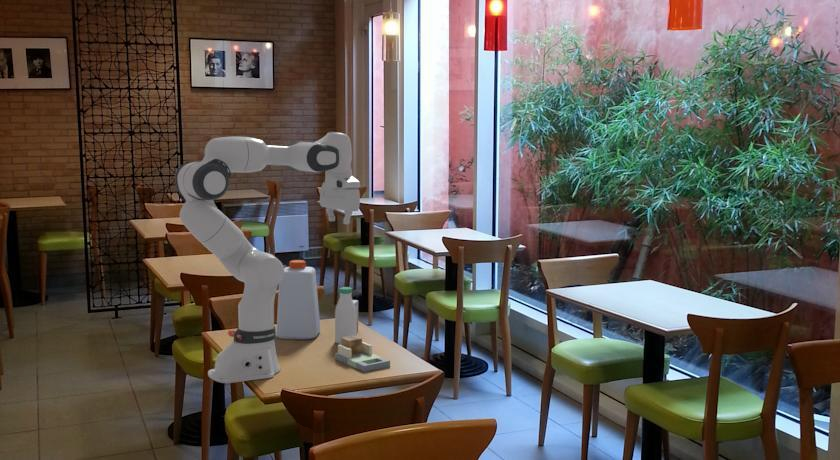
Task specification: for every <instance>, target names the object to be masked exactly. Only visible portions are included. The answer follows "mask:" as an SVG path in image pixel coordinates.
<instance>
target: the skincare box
mask: <svg viewBox="0 0 840 460" xmlns="http://www.w3.org/2000/svg"><path fill="white" fill-rule="evenodd" d="M352 300H353V303H354V305H355V308H356V320H357V332H359V300H357V299H352Z"/></svg>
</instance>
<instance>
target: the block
mask: <svg viewBox="0 0 840 460" xmlns="http://www.w3.org/2000/svg"><path fill="white" fill-rule="evenodd" d="M341 342H342V344H341V345H343V346H345V347H348V348H350V349H352V355H354V354H359V353H362V342H363V338H361V337H360V336H358V335H357V336H354V335H353V336H348V337H342V338H341Z"/></svg>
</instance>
